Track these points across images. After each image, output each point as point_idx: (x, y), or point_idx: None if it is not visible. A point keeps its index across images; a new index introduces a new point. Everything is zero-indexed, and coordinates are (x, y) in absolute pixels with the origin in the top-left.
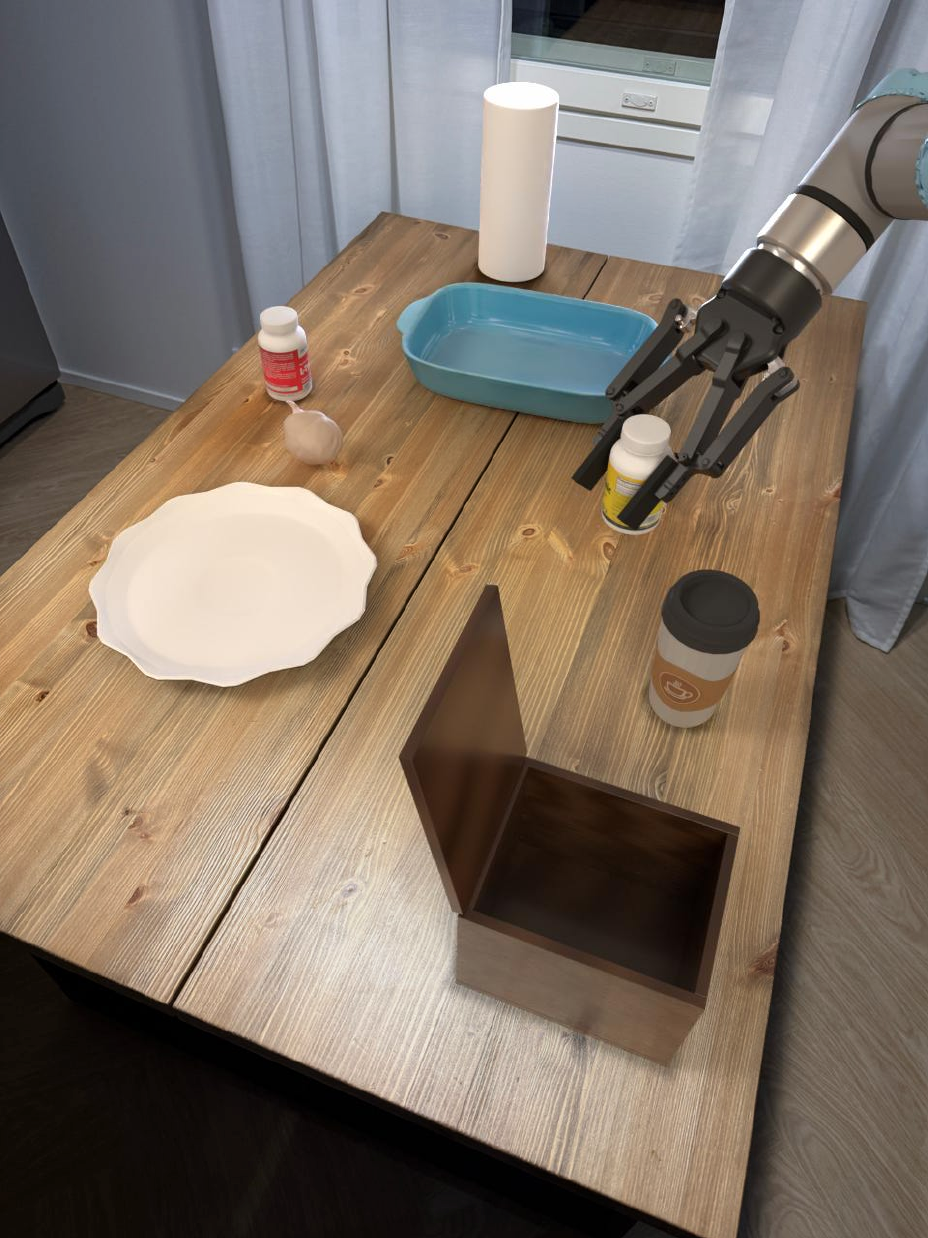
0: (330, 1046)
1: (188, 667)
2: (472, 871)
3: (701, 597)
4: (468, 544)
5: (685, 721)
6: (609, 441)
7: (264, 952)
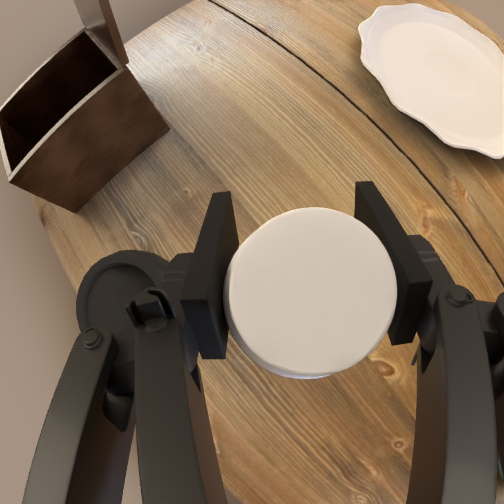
0: (144, 34)
1: (388, 27)
2: (84, 20)
3: None
4: (451, 242)
5: None
6: (386, 242)
7: (196, 18)
